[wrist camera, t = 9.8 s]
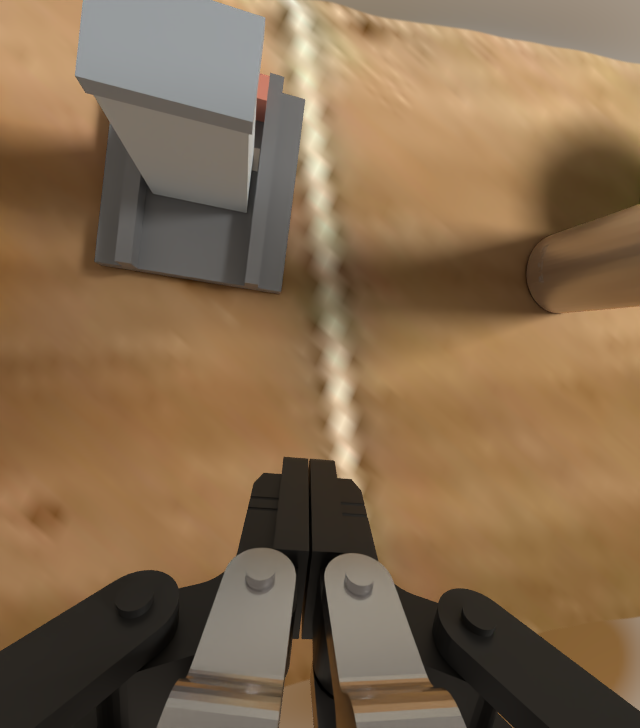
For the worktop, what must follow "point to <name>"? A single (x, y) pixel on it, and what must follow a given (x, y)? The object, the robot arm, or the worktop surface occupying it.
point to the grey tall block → (177, 91)
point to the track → (208, 210)
